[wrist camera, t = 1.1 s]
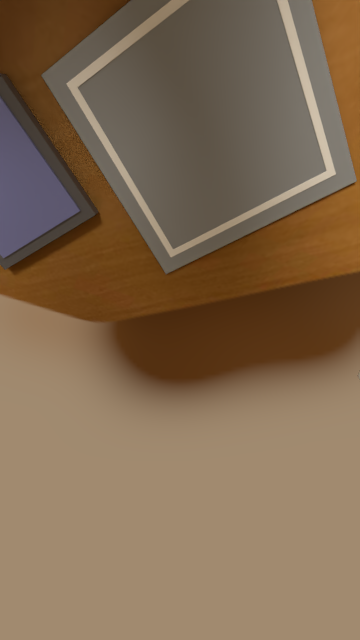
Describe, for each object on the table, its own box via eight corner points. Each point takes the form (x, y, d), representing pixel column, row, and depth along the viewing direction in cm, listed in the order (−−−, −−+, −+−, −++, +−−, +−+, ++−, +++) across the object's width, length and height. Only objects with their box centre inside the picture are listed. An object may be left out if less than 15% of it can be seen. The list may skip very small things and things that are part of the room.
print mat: (42, 75, 25) (40, 75, 25) (279, -122, 19) (280, -126, 19) (166, 272, 34) (166, 274, 34) (355, 180, 28) (357, 181, 28)
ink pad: (-88, 156, 29) (-99, 158, 28) (5, 74, 25) (-3, 73, 24) (9, 265, 35) (4, 270, 34) (98, 211, 31) (95, 215, 30)
